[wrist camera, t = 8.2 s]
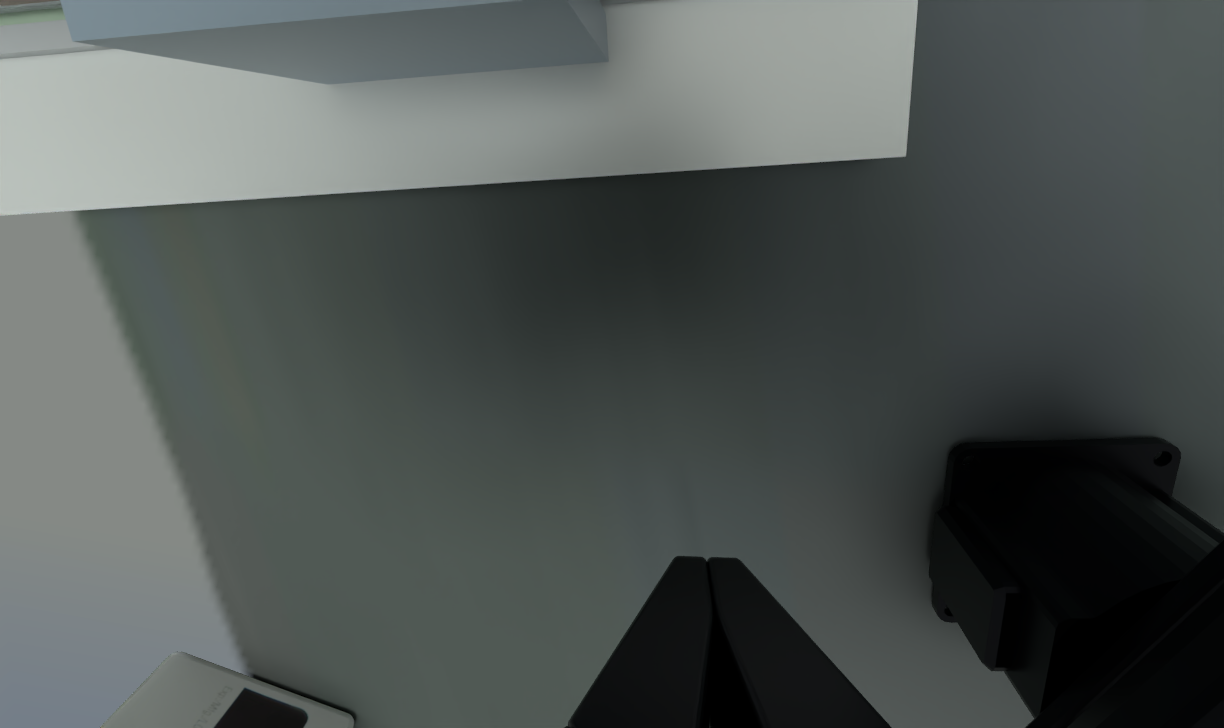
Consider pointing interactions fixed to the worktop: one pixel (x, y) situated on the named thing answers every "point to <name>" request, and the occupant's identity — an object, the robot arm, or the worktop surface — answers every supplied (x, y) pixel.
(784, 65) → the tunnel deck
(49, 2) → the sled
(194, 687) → the container
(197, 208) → the worktop surface
